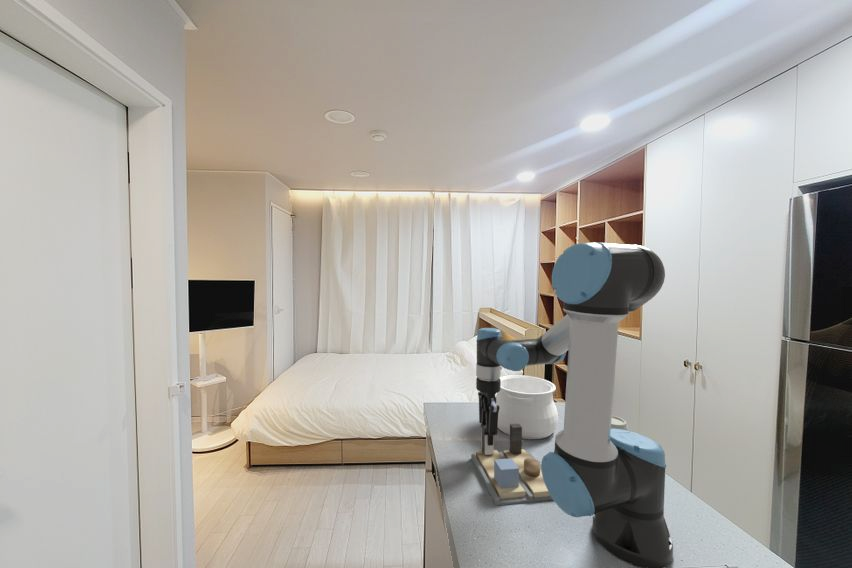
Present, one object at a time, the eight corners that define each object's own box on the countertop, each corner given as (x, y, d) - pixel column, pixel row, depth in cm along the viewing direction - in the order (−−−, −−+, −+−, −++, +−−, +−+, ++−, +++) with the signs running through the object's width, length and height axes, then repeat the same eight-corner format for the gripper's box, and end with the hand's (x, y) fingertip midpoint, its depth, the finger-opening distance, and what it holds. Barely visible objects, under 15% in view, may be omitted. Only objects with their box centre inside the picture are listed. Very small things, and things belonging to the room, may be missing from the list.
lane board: (565, 498, 89) (565, 492, 89) (495, 505, 86) (496, 499, 86) (527, 454, 111) (527, 449, 111) (471, 458, 108) (471, 454, 108)
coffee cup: (631, 465, 105) (632, 427, 104) (601, 462, 106) (602, 424, 106) (621, 451, 113) (622, 415, 113) (593, 448, 115) (594, 413, 115)
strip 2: (559, 495, 89) (559, 458, 89) (534, 497, 88) (534, 460, 88) (524, 453, 110) (524, 423, 110) (503, 455, 109) (503, 424, 109)
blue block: (518, 486, 90) (518, 468, 90) (500, 488, 90) (500, 469, 89) (511, 475, 95) (511, 458, 95) (494, 477, 95) (494, 459, 94)
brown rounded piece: (542, 476, 95) (543, 465, 95) (528, 477, 95) (528, 467, 94) (535, 467, 100) (535, 457, 99) (521, 468, 99) (521, 458, 99)
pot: (500, 409, 147) (500, 371, 147) (560, 420, 137) (561, 379, 136) (483, 434, 124) (484, 388, 124) (554, 450, 114) (555, 400, 113)
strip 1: (525, 496, 89) (526, 459, 88) (499, 499, 88) (500, 461, 87) (496, 454, 109) (497, 423, 109) (475, 455, 108) (475, 425, 108)
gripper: (509, 385, 100) (508, 464, 101) (491, 370, 115) (490, 438, 116) (485, 386, 99) (483, 466, 99) (469, 371, 114) (469, 440, 115)
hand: (487, 451), depth 108 cm, fingers closed on strip 1, 2 cm apart
